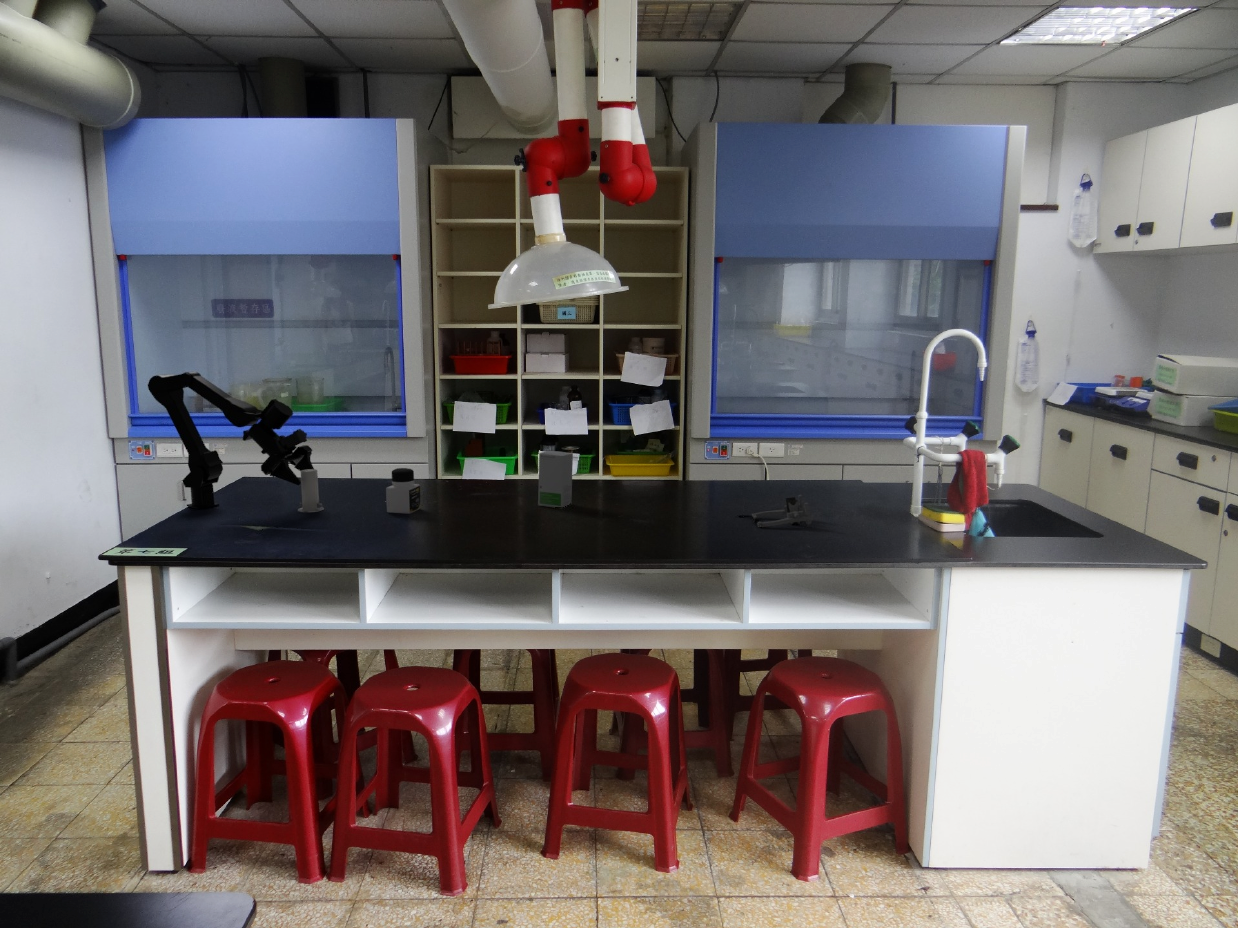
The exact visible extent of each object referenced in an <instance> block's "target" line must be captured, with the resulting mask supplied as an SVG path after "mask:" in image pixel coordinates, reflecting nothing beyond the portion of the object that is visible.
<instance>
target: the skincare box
mask: <svg viewBox="0 0 1238 928" xmlns="http://www.w3.org/2000/svg"><path fill="white" fill-rule="evenodd" d="M538 456H539V458H538V461H539V462H538V497H537V499H538V501H537V505H538V506H540V507H548V508H549V507H550V508H555V507H564V508H566V507H568V506H567V505H569V504H570V503H571V504H572V495H573V494H572V493H573V492H572V491H573V490H572V489H573V488H572V487H573V464H574V463H573V461H574V453H573V452H564V451H556V450H546V451H542V452H540V453H539V454H538ZM565 506H566V507H565ZM569 506H570V505H569Z"/></svg>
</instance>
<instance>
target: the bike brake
mask: <svg viewBox="0 0 1238 928" xmlns="http://www.w3.org/2000/svg"><path fill="white" fill-rule="evenodd" d="M797 496H798V499H796V497H795V496H794V497H793V496H792V497H786V498H785V503H786V504H785V505H784V506H783V508H784V509H775V510H767V511H766V510H765V511H759V512H755V513H751V515H747V514H745V515H743V514H742V515H741V514H739V515H738V516H744V517H743V518H751V519H752V518H754V521H753V522H754V524H756V525H757V526H758V527H762V528H766V527H776V526H780V525H786V524H787V525H788V524H790V523H791V524H799V525H801V522H804V523H805V524H806V525H807V526H808V525H811V523H812V521H814V515H813V514H810V507H809V502H804V500H803V494H798V495H797ZM785 515H786V517H785V518H782V519H777V520H771V521H760V519H759V518H761V517H768V516H769V517H770V516H785ZM758 527H757V528H758Z"/></svg>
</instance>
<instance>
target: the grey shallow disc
mask: <svg viewBox="0 0 1238 928" xmlns="http://www.w3.org/2000/svg"><path fill="white" fill-rule="evenodd" d="M323 510H325V508H324V507H323V506H322V507H321V508H319V510H315V511H304V510H303V507H299V508H298V509H297V512H299V513H315V512H316V513H317V512H320V511H323Z"/></svg>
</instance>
